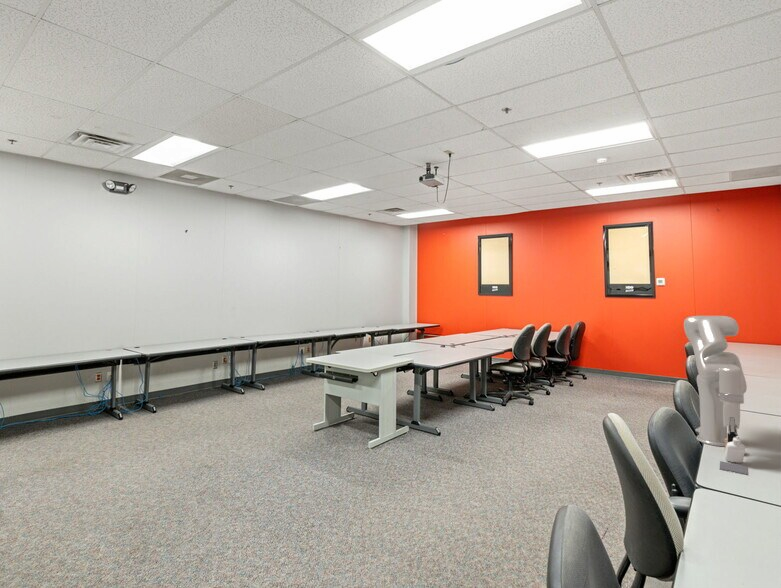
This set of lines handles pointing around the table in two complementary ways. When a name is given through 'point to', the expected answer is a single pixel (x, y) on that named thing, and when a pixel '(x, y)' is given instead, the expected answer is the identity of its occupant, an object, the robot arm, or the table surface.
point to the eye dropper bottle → (735, 450)
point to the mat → (733, 467)
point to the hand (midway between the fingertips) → (733, 444)
